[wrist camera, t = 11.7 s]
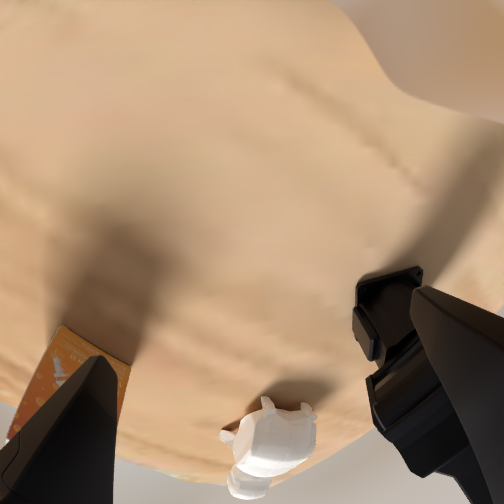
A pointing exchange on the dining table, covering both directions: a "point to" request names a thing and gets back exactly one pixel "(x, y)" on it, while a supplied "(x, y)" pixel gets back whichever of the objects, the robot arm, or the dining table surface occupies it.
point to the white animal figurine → (268, 447)
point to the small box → (62, 374)
